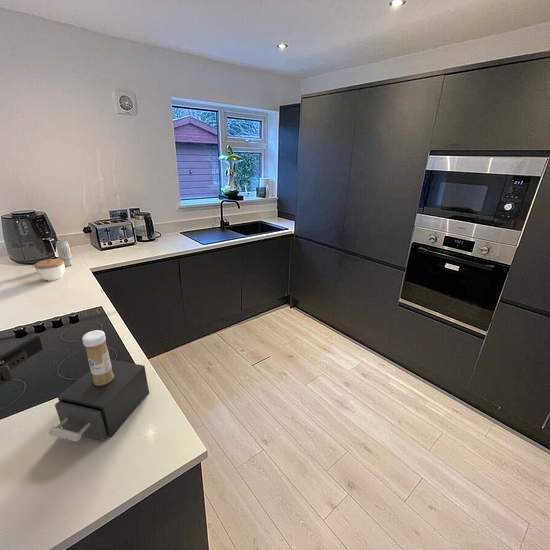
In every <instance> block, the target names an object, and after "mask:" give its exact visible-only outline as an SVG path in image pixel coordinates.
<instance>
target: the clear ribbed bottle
mask: <svg viewBox="0 0 550 550" xmlns="http://www.w3.org/2000/svg"><path fill="white" fill-rule="evenodd" d="M55 247H56V250H57V254H58V259H61V260H63V261H64V265H65V266H67V267H71V266H73V264H74V261H73V256H72V252H71V249H70V245H69V243H68V242H67V240H66V239H65V240H63V239H61V240H57V241H56V243H55ZM70 265H71V266H70Z"/></svg>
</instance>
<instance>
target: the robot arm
mask: <svg viewBox="0 0 550 550" xmlns="http://www.w3.org/2000/svg"><path fill="white" fill-rule="evenodd" d="M42 350H44V347H43V344H42V340H41V338H40V336H38V335H34V336H33V337H31V338H30V339H27V340H26V341H24V342H22V343H21V344H19V345H17V346H16V347H14V348H12V349H10V350H8V351H7V352H5V353H3V354H1V355H0V386H2V385H4V384H7V383H9V382H11V381H12V380H14V377H13V374H12V372H11V371H12V370H13V369H15V368H16V367H18V366H19V365H21V364H22V363H24V362H26V361H27V360H28V359H30V358H31V357H33V356H34V355H36V354H39V352H41V351H42Z"/></svg>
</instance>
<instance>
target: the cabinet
mask: <svg viewBox="0 0 550 550" xmlns="http://www.w3.org/2000/svg"><path fill="white" fill-rule="evenodd" d="M110 362H111V368H112V372H113V375H114V378H113V379H112V381H111V382H109V383H108V384H105V385H102V386H97V385H95V384H94V382H93V376H92V373H91V369H89V370H88V371H87V372H86V373H85V374H83V375H82V376H81V377H80V378H78V379H77V380H76V381H75V382H74V383H72V384H70V386H69V387H67V388H66V389H65V390H63V391H62V392H61V393H60V394H58V396H57V399H58V402H59V401H60V402H65V403H68V401H69V402H73V403H78V404H82V405H86V406H91V407H95V408H99V409H101V410H102V414H103V418H104V421H105V425H106V428H105V429H106V433H107V436H106V438H107V437H108V438H112V437H114V435H115V434H116V433H117V432H118V431H119V429H120V428H121V427H122V425H124V423H126V421H127V420H128V419H129V417H130V416H131V415H132V414H133V413H134V412H135V410H136V409H137V408H138V407H139V406H140V405H141V403H142V402H144V400H145V399H146V398H147V397H148V395H150V389H149V383H148V379H147V372H146V366H145V365H143V364H138V363H133V362H129V361H128V362H127V361H123V360H117V359H111V358H110Z"/></svg>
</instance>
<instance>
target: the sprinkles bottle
mask: <svg viewBox="0 0 550 550" xmlns="http://www.w3.org/2000/svg"><path fill="white" fill-rule="evenodd" d="M81 338H82V339H81V340H82V343H83V346H84V348H85V352H86V356H87V360H88V365H89V368H90V369H89V370H91V373H92V376H93V382H94V384H95V385H97V386H102V385H105V384H108V383H109V382H111V381H112V379H113V378H114V375H113V372H112V368H111V362H110V359H111V358H110V354H109V349H108V346H107V341H106V340H107V338H106V334H105V332H104V331H103V330H100V329H96V330H91V331H89V332H86V333H84V334H83V335H82V337H81Z"/></svg>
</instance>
